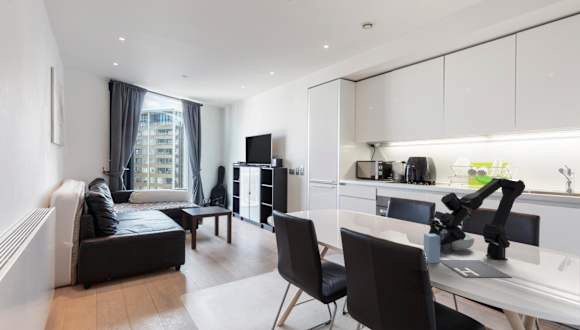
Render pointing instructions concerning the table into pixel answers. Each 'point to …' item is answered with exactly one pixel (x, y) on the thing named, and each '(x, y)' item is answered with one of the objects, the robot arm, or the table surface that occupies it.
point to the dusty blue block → (432, 248)
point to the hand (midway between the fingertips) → (433, 241)
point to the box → (447, 247)
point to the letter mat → (474, 269)
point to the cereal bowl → (463, 243)
